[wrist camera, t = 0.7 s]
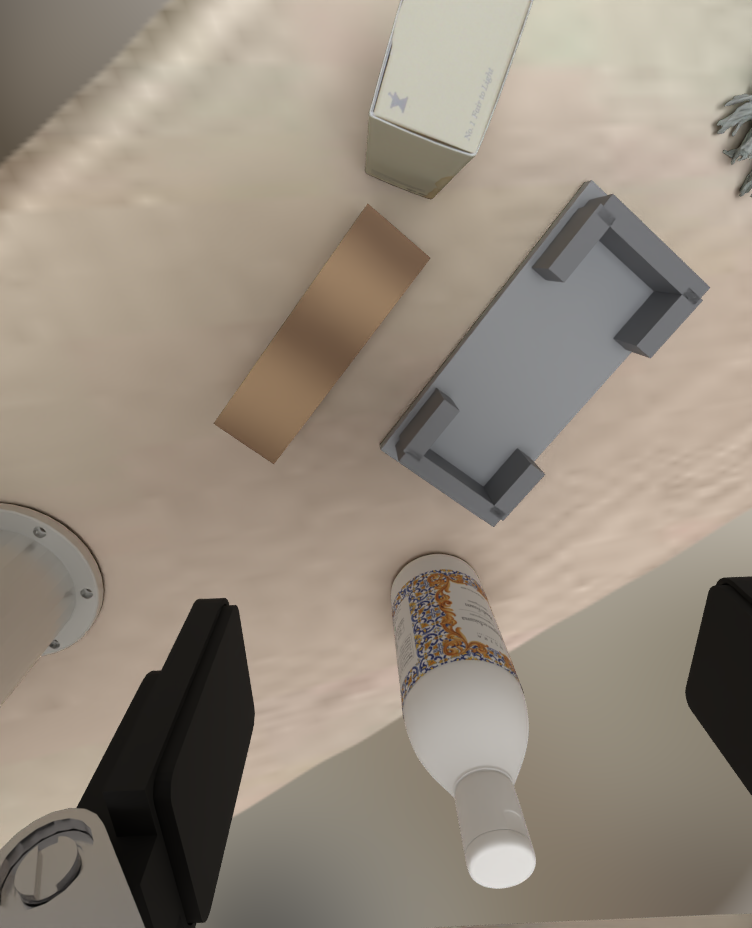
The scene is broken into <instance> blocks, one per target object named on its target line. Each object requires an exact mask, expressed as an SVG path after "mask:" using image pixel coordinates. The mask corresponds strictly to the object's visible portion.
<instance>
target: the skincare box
mask: <svg viewBox="0 0 752 928" xmlns="http://www.w3.org/2000/svg"><path fill="white" fill-rule="evenodd" d="M532 3H533V0H400V4H399V7H398V10H397V14H396V17H395V21H394V24H393V28H392V31H391V35H390V39H389V42H388V46H387V49H386V52H385V56H384V60H383V63H382V67H381V71H380V74H379V78H378V82H377V85H376V89H375V93H374V97H373V100H372V104H371V107H370V111H369V119H368V135H367V151H366V166H365V172H366V173H367V174H369V175H371V176H373V177H376V178H378V179H380V180H383V181H385V182H387V183H390V184H392V185H395V186H397V187H400V188H402V189H405V190H407V191H410V192H412V193H415V194H418V195H421V196H423V197H426V198H429V199H433V198H434V197H435V196H436V195H437V193H438V192H439V191H440V190H441V189H442V188H443V187H444V186H445V185H446V184H447V183H448V182H449V181H450V180H451V179H452V178H453V177H454V176H455V175H456V174H457V173H458V172H459V171H460V170H461V169H462V168H463V167H464V166H465V165H466V164H467V163H468V162H469V161H470V160H471V159H472V158H473V157H475V156H476V154H477V152H478V150H479V147H480V145H481V143H482V140H483V138H484V135H485V133H486V130H487V128H488V126H489V123H490V120H491V118H492V115H493V112H494V110H495V107H496V105H497V102H498V99H499V97H500V94H501V91H502V89H503V86H504V83H505V80H506V78H507V75H508V72H509V69H510V66H511V64H512V61H513V58H514V55H515V52H516V50H517V47H518V44H519V41H520V38H521V35H522V32H523V30H524V27H525V24H526V21H527V18H528V15H529V12H530V9H531V6H532Z"/></svg>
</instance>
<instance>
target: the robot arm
mask: <svg viewBox="0 0 752 928" xmlns="http://www.w3.org/2000/svg"><path fill="white" fill-rule="evenodd" d="M103 592H104V590H103V583H102V576H101V574H100V571H99V568H98V565H97V563H96V561H95V559H94V558H93V556H92V555H91V553H90V551H89V550H88V548H87V547H86V546H85V545H84V544H83V543H82V542H81V540H80V539H79V538H78V537H77V536H76V535H75V534H73V533H72V532H71V531H70V530H69V529H67V528H66V527H65V526H64V525H62V524H60V523H59V522H57V521H55V520H54V519H52V518H50V517H49V516H47V515H44V514H42V513H39V512H37V511H35V510H32V509H29V508H25V507H21V506H17V505H13V504H3V503H0V707H1V706H2V705H3V703H4V702H5V701H6V700H7V698H8V697H9V696H10V694H11V693H12V692H13V691H14V689H15V688H16V687H17V686H18V684H19V683H20V682H21V680H22V679H23V678H24V677H25V675H26V674H27V673H28V672H29V670H30V669H31V668H32V667H33V665H34V664H35V663H36V661H37V660H38V659H39V658H40V656H45V655H49V654H53V653H57V652H59V651H61V650H64V649H66V648H68V647H70V646H72V645H73V644H74V643H76V642H77V641H78V640H80V639H81V638H82V637H83V636H84V635H85V633H86V632H87V631H88V630H89V629H90V627H91V626H92V624H93V623H94V621H95V620H96V618H97V617H98V615H99V612H100V609H101V606H102V602H103ZM685 693H686V699H687V703H688V705H689V707H690V709H691V711H692V712H693V714H694V715H695V716H696V718H697V719H698V721H699V722H700V723H701V725H702V726H703V728H704V729H705V731H706V732H707V733H708V735H709V736H710V738H711V739H712V740H713V742H714V743H715V744H716V746H717V747H718V749H719V750H720V752H721V753H722V754H723V756H724V757H725V759H726V760H727V761H728V763H729V764H730V766H731V767H732V769H733V770H734V771H735V773H736V774H737V776H738V777H739V778H740V780H741V781H742V783H743V784H744V785H745V787H746V788H747V790H748V791H749V792H750V794H751V795H752V577H729V578H722V579H720V580H719V581H718V582H717V584H716V585H715V586H712V587H711V588H710V590H709V592H708V596H707V600H706V605H705V609H704V613H703V617H702V622H701V626H700V630H699V634H698V639H697V643H696V647H695V651H694V655H693V660H692V664H691V668H690V673H689V677H688V681H687V685H686V692H685ZM254 716H255V711H254V702H253V696H252V690H251V684H250V677H249V671H248V665H247V659H246V652H245V646H244V640H243V634H242V628H241V621H240V615H239V610H238V607H237V606H236V605H229V602H228V600H227V599H226V598H216V599H198V600H196V601H195V603H194V604H193V606H192V608H191V610H190V613H189V615H188V617H187V619H186V621H185V623H184V625H183V627H182V629H181V631H180V633H179V635H178V637H177V639H176V641H175V643H174V645H173V647H172V649H171V652H170V654H169V656H168V658H167V660H166V662H165V664H164V666H163V668H162V670H161V671H151V672H149V673H148V674H147V675H146V676H145V678H144V679H143V681H142V683H141V685H140V687H139V689H138V690H137V692H136V694H135V696H134V698H133V700H132V702H131V704H130V706H129V708H128V710H127V712H126V714H125V715H124V717H123V719H122V721H121V723H120V725H119V727H118V729H117V731H116V733H115V735H114V737H113V739H112V741H111V742H110V744H109V746H108V748H107V750H106V752H105V754H104V756H103V758H102V760H101V762H100V764H99V766H98V768H97V769H96V771H95V773H94V775H93V777H92V779H91V781H90V783H89V785H88V787H87V789H86V791H85V793H84V794H83V796H82V798H81V800H80V802H79V804H78V806H77V808H68V809H64V810H60V811H56V812H52V813H50V814H48V815H46V816H44V817H41V818H39V819H37V820H35V821H33V822H32V823H31V824H29V825H28V826H26V827H25V828H24V829H22V830H21V831H19V832H18V833H17V834H16V835H15V836H14V837H13V838H12V839H11V840H10V841H9V842H8V843H7V844H6V845H5V846H4V847H3V848H2V849H1V850H0V928H195V926H196V923H203V922H205V921H206V920H207V918H208V916H209V913H210V909H211V905H212V901H213V897H214V893H215V888H216V884H217V880H218V876H219V871H220V867H221V863H222V858H223V854H224V850H225V846H226V842H227V837H228V833H229V829H230V824H231V820H232V816H233V812H234V808H235V803H236V799H237V795H238V791H239V786H240V782H241V778H242V774H243V769H244V765H245V761H246V757H247V752H248V748H249V744H250V740H251V735H252V731H253V726H254ZM436 928H752V913H750V914H724V915H700V916H679V917H678V916H676V917H653V918H631V919H630V918H629V919H607V920H587V921H586V920H585V921H561V922H540V923H517V924H497V925H476V926H457V927H436Z"/></svg>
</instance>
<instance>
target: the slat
mask: <svg viewBox="0 0 752 928" xmlns="http://www.w3.org/2000/svg"><path fill="white" fill-rule="evenodd" d="M429 259H430V257H429V256H428V255H426V254H425V253H424V252H423V251H422V250H421V249H420V248H418V247H417V246H416V245H415V244H414V243H413V242H411V241H410V240H409V239H408V238H407V237H406V236H405V235H403V234H402V233H401V232H400V231H399V230H398V229H397V228H395V227H394V226H393V225H392V224H391V223H390V222H388V221H387V220H386V219H385V218H384V217H383V216H382V215H380V214H379V213H378V212H377V211H376V210H375V209H373V208H372V207H371V206H370V205H369V204H367V205H366V207H365V208H364V210H363V211H362V212H361V214H360V215H359V217H358V218H357V220H356V221H355V222H354V224H353V225H352V227H351V228H350V230H349V231H348V232H347V234H346V235H345V237H344V238H343V240H342V241H341V242H340V244H339V245H338V247H337V248H336V250H335V251H334V252H333V254H332V255H331V257H330V258H329V260H328V261H327V262H326V264H325V265H324V267H323V268H322V270H321V271H320V272H319V274H318V275H317V277H316V278H315V280H314V281H313V282H312V284H311V285H310V287H309V288H308V290H307V291H306V292H305V294H304V295H303V297H302V298H301V300H300V301H299V302H298V304H297V305H296V307H295V308H294V310H293V311H292V312H291V314H290V315H289V317H288V318H287V319H286V321H285V322H284V324H283V325H282V327H281V328H280V329H279V331H278V332H277V334H276V335H275V337H274V338H273V339H272V341H271V342H270V344H269V345H268V347H267V348H266V349H265V351H264V352H263V354H262V355H261V357H260V358H259V359H258V361H257V362H256V364H255V365H254V367H253V368H252V369H251V371H250V372H249V374H248V375H247V377H246V378H245V379H244V381H243V382H242V384H241V385H240V387H239V388H238V389H237V391H236V392H235V394H234V395H233V397H232V398H231V399H230V401H229V402H228V404H227V405H226V407H225V408H224V409H223V411H222V412H221V414H220V415H219V417H218V418H217V419H216V421H215V422H214V424H215V425H216V426H218V427H219V428H221V429H222V430H224V431H225V432H227V433H228V434H230V435H231V436H233V437H234V438H236V439H237V440H239V441H240V442H242V443H243V444H245V445H246V446H248V447H249V448H250V449H252V450H253V451H255V452H256V453H258V454H259V455H261V456H262V457H264V458H265V459H267V460H268V461H270V462H271V463H273V464H274V463H275V462H276V461H277V459H278V458H279V457H280V455H281V454H282V453H283V451H284V450H285V449H286V447H287V446H288V445H289V444H290V442H291V441H292V440H293V438H294V437H295V436H296V434H297V433H298V432H299V430H300V429H301V428H302V426H303V425H304V424H305V422H306V421H307V420H308V419H309V417H310V416H311V415H312V413H313V412H314V411H315V409H316V408H317V407H318V405H319V404H320V403H321V401H322V400H323V399H324V397H325V396H326V395H327V394H328V392H329V391H330V390H331V388H332V387H333V386H334V384H335V383H336V382H337V380H338V379H339V378H340V376H341V375H342V374H343V372H344V371H345V370H346V369H347V367H348V366H349V365H350V363H351V362H352V361H353V359H354V358H355V357H356V355H357V354H358V353H359V351H360V350H361V349H362V347H363V346H364V345H365V344H366V342H367V341H368V340H369V338H370V337H371V336H372V334H373V333H374V332H375V330H376V329H377V328H378V326H379V325H380V324H381V322H382V321H383V320H384V319H385V317H386V316H387V315H388V313H389V312H390V311H391V309H392V308H393V307H394V305H395V304H396V303H397V301H398V300H399V299H400V297H401V296H402V295H403V294H404V292H405V291H406V290H407V288H408V287H409V286H410V284H411V283H412V282H413V280H414V279H415V278H416V276H417V275H418V274H419V272H420V271H421V270H422V269H423V267H424V266H425V265H426V263H427V262H428V261H429Z"/></svg>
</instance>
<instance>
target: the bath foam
mask: <svg viewBox="0 0 752 928" xmlns="http://www.w3.org/2000/svg"><path fill="white" fill-rule="evenodd" d="M391 606H392V617H393V627H394V636H395V645H396V655H397V664H398V673H399V683H400V692H401V701H402V711H403V719H404V722H405V726H406V730H407V733H408V736H409V739H410V742H411V745H412V747H413V749H414V751H415V753H416V755H417V757H418V758H419V760H420V762H421V763H422V764H423V766H424V767H425V768H426V770H427V771H428V772H429V773H430V774H431V775H432V777H433V778H434V779H435V780H436V781H437V782H438V783H439V784H440V785H441V786H442V787H443V788H445V789H446V790H447V791H448V792H449V793H450V794H451V795H452V796H453V797H454V798H455V803H456V809H457V815H458V820H459V826H460V831H461V836H462V842H463V847H464V852H465V858H466V863H467V868H468V871H469V874H470V876H471V877H472V878H473V879H474V880H475V881H476V882H477V883H478V884H480V885H482V886H485V887H489V888H507V887H511V886H514V885H517V884H519V883H521V882H523V881H524V880H526V879H527V878H528V877H529V876H530V875H531V874H532V872H533V870H534V868H535V865H536V858H535V853H534V849H533V846H532V843H531V839H530V836H529V833H528V829H527V826H526V823H525V820H524V816H523V813H522V810H521V806H520V803H519V800H518V797H517V794H516V791H515V788H514V784H515V781H516V779H517V776H518V774H519V771H520V768H521V765H522V762H523V759H524V756H525V752H526V748H527V742H528V735H529V720H528V712H527V705H526V701H525V697H524V692H523V689H522V687H521V684H520V682H519V679H518V677H517V674H516V671H515V669H514V666H513V664H512V661H511V659H510V656H509V653H508V651H507V648H506V646H505V643H504V641H503V638H502V636H501V633H500V630H499V628H498V625H497V623H496V620H495V618H494V615H493V612H492V610H491V607H490V605H489V602H488V600H487V597H486V595H485V592H484V590H483V588H482V585H481V582H480V580H479V578H478V576H477V574H476V572H475V571H474V570H473V569H472V567H471V566H470V565H468V564H467V563H466V562H464V561H463V560H461V559H459V558H457V557H454V556H451V555H446V554H431V555H426V556H422V557H420V558H417V559H415V560H413V561H412V562H410V563H409V564H407V565H406V566H405V567H404V568H403V569H402V570H401V571H400V573H399V574H398V575H397V577H396V578H395V580H394V582H393V585H392V589H391Z"/></svg>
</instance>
